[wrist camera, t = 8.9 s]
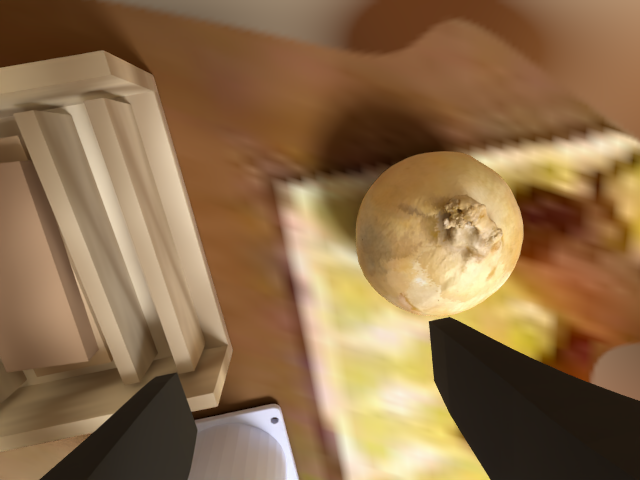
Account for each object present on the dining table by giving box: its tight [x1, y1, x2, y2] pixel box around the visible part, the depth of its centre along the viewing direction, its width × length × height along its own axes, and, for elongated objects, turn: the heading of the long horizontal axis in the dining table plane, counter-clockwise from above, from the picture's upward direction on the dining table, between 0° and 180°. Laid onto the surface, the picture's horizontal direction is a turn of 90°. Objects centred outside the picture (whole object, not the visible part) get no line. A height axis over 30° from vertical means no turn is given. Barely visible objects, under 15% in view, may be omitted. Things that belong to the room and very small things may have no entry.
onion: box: [356, 151, 523, 316], centre depth 16 cm, size 8×8×7 cm
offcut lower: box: [0, 135, 113, 377], centre depth 17 cm, size 4×12×1 cm, turn 10°
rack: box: [0, 50, 233, 452], centre depth 16 cm, size 16×16×5 cm
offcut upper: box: [0, 160, 99, 373], centre depth 16 cm, size 4×10×1 cm, turn 6°
